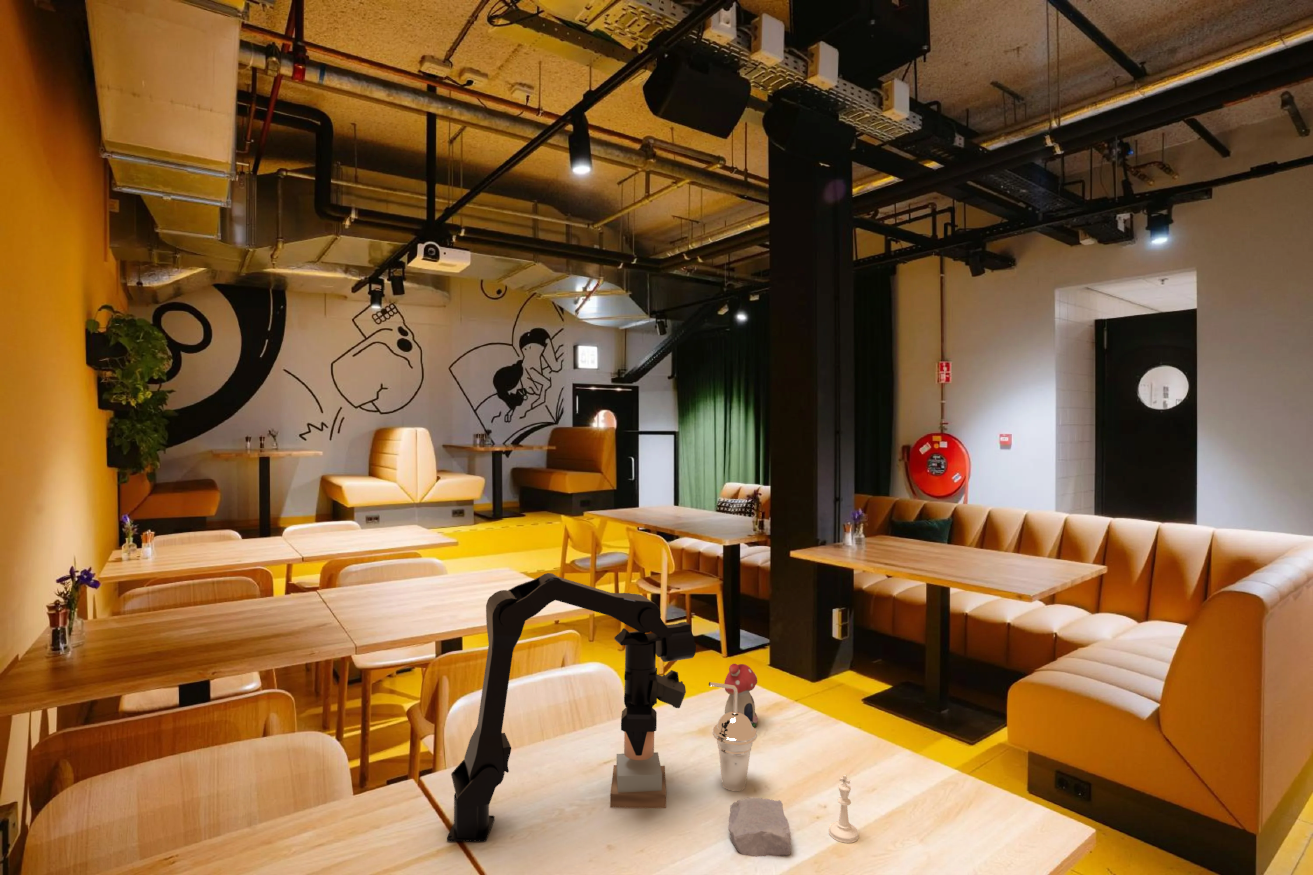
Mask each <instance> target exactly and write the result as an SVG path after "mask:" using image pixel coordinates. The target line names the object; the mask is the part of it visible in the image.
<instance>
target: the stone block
mask: <svg viewBox="0 0 1313 875" xmlns="http://www.w3.org/2000/svg"><path fill="white" fill-rule="evenodd" d="M784 811H785V810H784V808H783V802H782V800H780V799H779V800H774V799H769V798H763V797H747V798H743V799H742V798H741V799H737V800H736V801H734V802H732V803H731V805H730V808H729V816H728V826H727V828H728V831H729V836H730V841H731V843H732V844H733V846H734V847H735V849H736V850H737V852H738V853H739V854H740V855H743V856H750V857H766V856H773V857H774V856H775V857H777V856H778V857H779V856H790V854H791V845H792V842H791V840H792V837H791V830H790V825H789V822H788V819H787V817H786V815H785V812H784Z"/></svg>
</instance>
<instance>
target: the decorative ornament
mask: <svg viewBox="0 0 1313 875" xmlns="http://www.w3.org/2000/svg"><path fill="white" fill-rule="evenodd" d="M728 670H729V672H728V673H727V674H726V677H725V680H724V682H723V684H728V685H734V686H735V687H736V688H737V691H738V694H737V712H740V713H742V714H744V715H745V716H747V718H748V719H749V720H750V722H751V724H752V726H753V727H754V728H755V729H756V727H757V725H758V720H759V718H758V715H757V713H756V704H755V700H754V698H753V696H752V694H751V692H750V691H753V690H754V689H755V687H756V685H757V684H758V676H757V674H756V673H755V672H754V671H753V669H752V668H751V667H750V666H749V665H747V664H744V663H738V664H736V663H732V664H730V665H729V667H728ZM724 690H725V691H724V692H726V693H727V694H728V695H729V696H728V698H727V700H726V703H725V707H724V714H726V713H728V712H733V711H734V690H733V689H729V688H724Z"/></svg>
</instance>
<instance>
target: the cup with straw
mask: <svg viewBox="0 0 1313 875" xmlns="http://www.w3.org/2000/svg"><path fill="white" fill-rule="evenodd" d="M708 687H715V688H723V689H725V688H729V689H733V690H734V711H733V712H728V713H726V714H725V713H724V714H723V715H722V716H720V719H718V722H717V723H716V724H715V725H714V726H713V729H712V736H713V738H714V739H715V740H716V744H717V748H718V756H719V764H720V775H721V776H720V777H721V785H722V787H723V788H724V789H726V790H728V791H730V792H740V791H743V790H744V789H745V788H746V786H747V785H746V784H747V783H746V782H747V779H748V773H749V772H748V771H749V763H750V756H751V751H752V747H753V744H754V743H753V742H755V741H756V740H757V739H758V734H757V730H756V727H755V728H754V727H753V726H752V724H751V722H750V720H749V719H748V718H747V716H745V715H744V714H742V713H740V712H737V694H738V691H737V688H736V687H735V686H734V685H728V684H724V683H719V682H711V681H709V683H708Z"/></svg>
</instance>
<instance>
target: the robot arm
mask: <svg viewBox="0 0 1313 875" xmlns="http://www.w3.org/2000/svg"><path fill="white" fill-rule="evenodd" d="M555 601H558V602H560V603H564V604H567V605H571V606H575V607H578V608H581V609H585V610H589V611H592V612H595V613H599V614H602V615H606V616H609V617H612V618H614V619H615V620H617V621H619V622H621V623H623V624H624V625H626V626H627V627H629V628H632V629H634V630H635V631H629V630H627V628H622V629H621V631H620V632H619V633H617V634H616V635H615V636H614V640H615V641H616V642H617V644H619V645H620V646H622V647H623V646H625V647H624V648H625V649H624V651H625V652H624V654H625V655H624V660H625V661H624V663H625V664H624V675H623V676H624V677H623V678H624V694H623V695H624V696H623V704H624V706H625V708H624V709H623V710H622V711H621V718H620V731H622V732H626V734H627V736H628V738H629V740H630V743H631V745H632V747H633V750H634V752H635V755H636V756H641V755H642V752H643V748H644V743H645V739H646V735H647V732H654V733H655V732H656V731H657V724H658V722H657V717H658V716H657V715H658V714H657V711H656V710H655V708H654V705H657V704H658V701H659V702H662V703H664V704H668V705H670V706H672V708H675V709H680V708H681V706H682V703H683V701H684V698H685V695H686V694H687V689H686V684H684V681H680V678H679V673H678V671H676V670H672V669H671V670H669V671H668V673H666V674H662V675H661V674H658V667H656V666H657V665H656V664H657V663H656V661H657V660H656V659H657V658H656V657H658V658H660V660H662V662H664V663H669V662H675V661H682V660H688V659H689V660H690V659H693V658H694V657H695V655H696V652H697V651H696V650H697V644H696V642H695V636H694V635H693V632H692V631H691V630H692V627H691V626H692V625H691V624H690V623H688V622H687V621H680V622H678V623H672V624H666V623H665V622H664V620H663V619H662V618H661V615H662V614H661V610H660V607H659V606H658V604H656V603H655V602H653V601H652V600H650V599H648V598H647V597H646V596H644V595H642V594H637V593H631V592H619V593H618V592H610V591H606V590H602V589H601V588H596V587H593V586H590V585H586V584H584V583H581V582H578V581H577V582H576V581H573V580H570V579H567V578H564V577H560V576H558V575H556V574H554V573H551V572H547V573H544V574H542V575H539V577H536V578H535V579H532V580H529V581H525V582H523V583H521V584H517V585H515V586H513V587H512V588H510V589H508V590H507V589H502V590H501V589H500V590H499V591H496V592H494V593H493V594H492V595H491V596H489V598H488V599H487V602H486V605H485V618H486V620H485V621H486V622H485V623H486V630H487V640H488V646H487V648H488V649H487V656H486V661H485V669H484V674H483V675H484V677H483V683H482V690H481V695H480V696H481V697H480V703H479V704H480V705H479V710H478V711H479V712H478V718H477V724H476V728H475V729H474V731H473V733H472V735H471V736H470V739H469V742H468V745H467V748H466V751H465V754H464V758H463V760H462V761H461V762H460V763H459V764H458V765H457V767H455V768H454V770H453V771H451V773H450V775H451V779H452V784H453V788H454V795H453V824H452V827H451V828H450V830H449V833H448V834H447V835H446V836H447V837H446V841H447V842H485V841H487V840H488V838H489V834H490V833H491V830H492V827H493V825H494V822H495V818H496V816H495V815H493V814H491V815H490V803H491V801H492V798H493V797H494V796H493V795H494V793H495V790H496V788H497V787H498V786H499V785H501V783H503V780H504V777H505V773H509V772H510V770H509V766H508V765H509V758H510V756H511V752H512V746H511V744H510V741H509V740H508V737H507V735H506V732H503V724H504V719H505V718H504V717H505V712H506V703H507V698H508V691H509V690H508V689H509V683H510V676H511V667H512V660H513V653H514V650H515V647H516V645H517V644H518V642H519V640H520V638H521V636H522V632H523V630H524V626H525V623H526V621H527V620H529V619H531V618H533V617H534V616H536V615H537V614H538V613H540V612H541V611H542V610H543V609H544V608H546V607H547V606H548V605H549V604H550V603H553V602H555ZM650 632H651V633H650Z"/></svg>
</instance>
